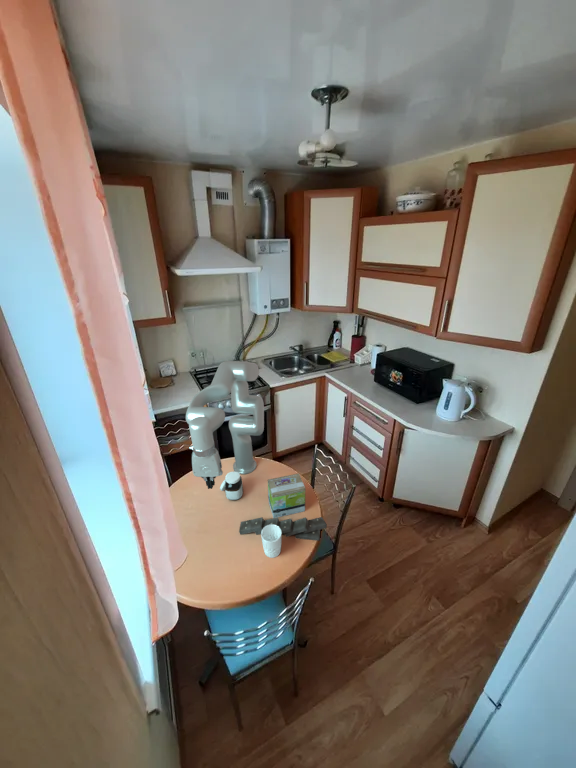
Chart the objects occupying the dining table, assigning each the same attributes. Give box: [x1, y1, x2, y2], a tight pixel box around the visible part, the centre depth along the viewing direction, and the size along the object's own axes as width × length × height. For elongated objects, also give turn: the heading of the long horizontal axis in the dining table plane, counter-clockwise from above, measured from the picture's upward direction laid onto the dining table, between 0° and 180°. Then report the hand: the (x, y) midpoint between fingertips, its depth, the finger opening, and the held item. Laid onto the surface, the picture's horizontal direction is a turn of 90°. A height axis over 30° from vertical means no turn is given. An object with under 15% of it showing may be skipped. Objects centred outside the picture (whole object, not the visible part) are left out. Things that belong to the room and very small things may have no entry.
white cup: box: [260, 524, 283, 559], centre depth 123 cm, size 8×8×10 cm
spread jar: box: [219, 470, 244, 501], centre depth 150 cm, size 12×11×12 cm
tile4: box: [304, 516, 328, 533], centre depth 132 cm, size 5×2×10 cm
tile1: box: [254, 517, 280, 536], centre depth 132 cm, size 5×2×10 cm
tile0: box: [238, 516, 264, 536], centre depth 133 cm, size 5×2×10 cm
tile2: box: [279, 518, 294, 535], centre depth 131 cm, size 5×2×10 cm
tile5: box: [294, 529, 321, 542], centre depth 131 cm, size 5×2×10 cm
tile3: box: [283, 517, 309, 538], centre depth 131 cm, size 5×2×10 cm
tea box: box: [267, 473, 306, 519], centre depth 141 cm, size 15×10×15 cm, turn 105°
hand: (210, 486), depth 123 cm, fingers closed
